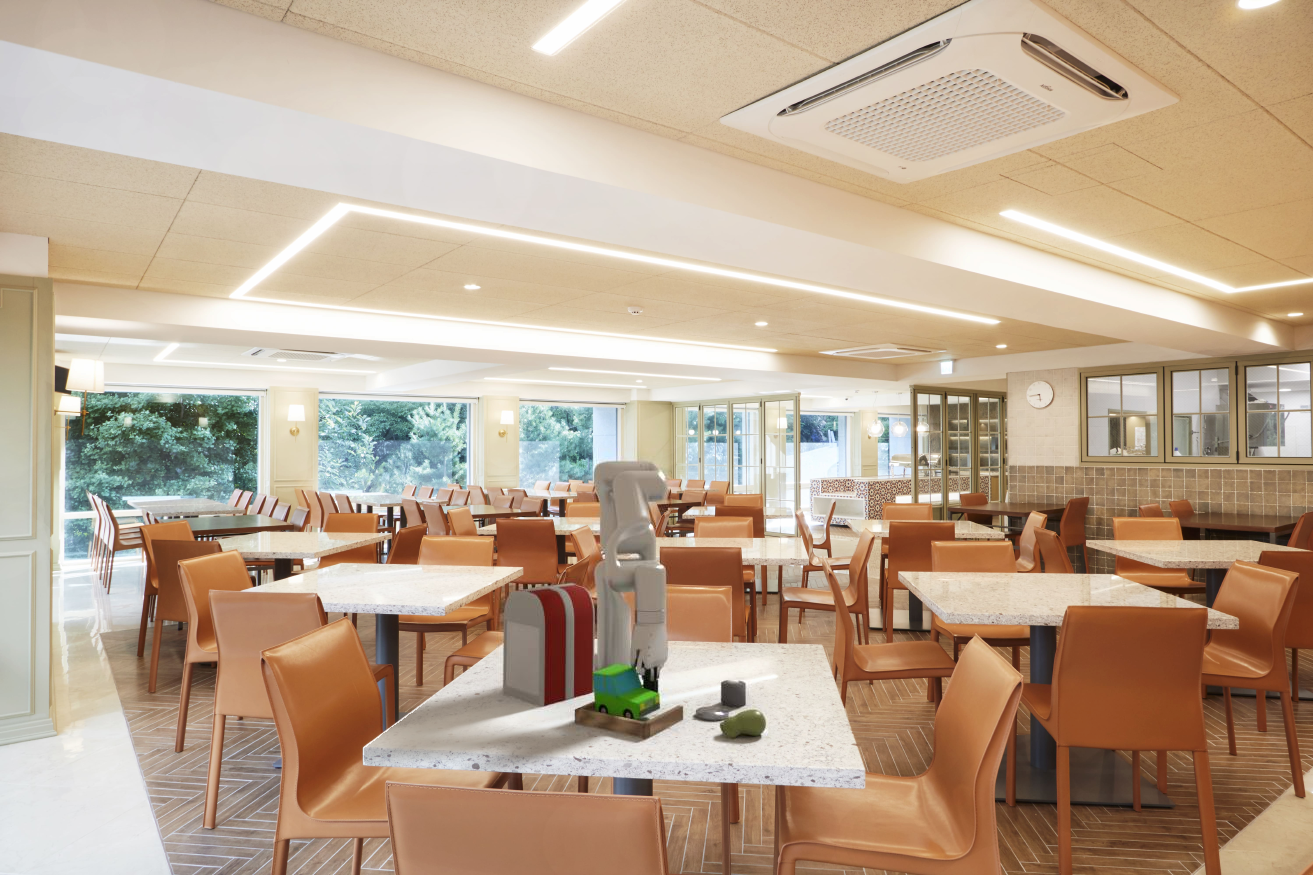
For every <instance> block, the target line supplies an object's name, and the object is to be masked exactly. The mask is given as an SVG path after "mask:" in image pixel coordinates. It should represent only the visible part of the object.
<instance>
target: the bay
mask: <svg viewBox="0 0 1313 875" xmlns="http://www.w3.org/2000/svg"><path fill="white" fill-rule="evenodd" d="M683 720H684V705H677V706H674V707H672V708H670V709H669V710H667V711H665V712H662V713H661V714H659V715H657V716H655V717H653V718H651V719H649V720H646V721H642V720H639V719H635V720H633V719H629V718H624V716H617V715H612V714H611V715H609V714H604V713H600V712H597V711H596V706H595V700H594V701H591V702H588V703H586V704H585V705H582V706H580V707H577V708H574V724H577V725H582V726H587V727H591V728H596V729H601V730H606V731H610V732H614V733H618V734H623V735H627V736H632V737H636V738H642V739H645V740H647V739H649V738H651V737H654V736H655V735H657V734H659V733H661V732H662V731H664V730H666V729H668V728H670V727H672V726H674V725H676V724H678V723H679V722H682V721H683Z"/></svg>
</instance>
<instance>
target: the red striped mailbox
mask: <svg viewBox="0 0 1313 875" xmlns="http://www.w3.org/2000/svg"><path fill="white" fill-rule="evenodd" d="M595 619H596V618H595V605H594V600H593V598H592V595H591V593H590V591H589V590H588V589H587V588H586V587H583V586H580V585H578V584H577V583H573V582H569V583H562V584H554V585H541V586H535V587H534V588H526V589H525V588H524V589H519V590H518V589H517V590H513V591H512V592H510V593H509V595H508V597H507V599H506V601H505V604H504V611H503V649H502V650H503V652H502V653H503V654H502V655H503V658H502V659H503V661H502V662H503V663H502V668H503V669H502V672H503V673H502V674H503V675H502V694H503V695H505V696H508V697H511V698H513V699H516V700H519V701H522V702H524V703H528V704H531V705H534V706H537V707H540V708H541V707H546V706H551V705H553V704H558V703H561V702H565V701H569V700H574V699H575V698H579V697H584V696H586V695H590V694H593V693H594V684H593V673H594V653H595V629H596V628H595V627H596V626H595V625H596V624H595V622H596V621H595Z"/></svg>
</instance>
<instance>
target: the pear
mask: <svg viewBox="0 0 1313 875" xmlns="http://www.w3.org/2000/svg"><path fill="white" fill-rule="evenodd" d="M766 727H767V722H766V717H765V715H764V714H763V713H762V712H761V711H760V710H758V709H747V710H743V711H741V712H739V713H736V714H735V715H734V716H729V717H728V718H726V719H725V720H722V721H720V722H719V728H720V731H721V732H722V734H723V736H724V737H725V738H726V739H730V740H731V739H734V738H737V737H738V736H739V735H740V734H742V735H743V734H744V735H749V736H752V737H757V736H760V735H761V734H763V733H764V732H765V730H766Z"/></svg>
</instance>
